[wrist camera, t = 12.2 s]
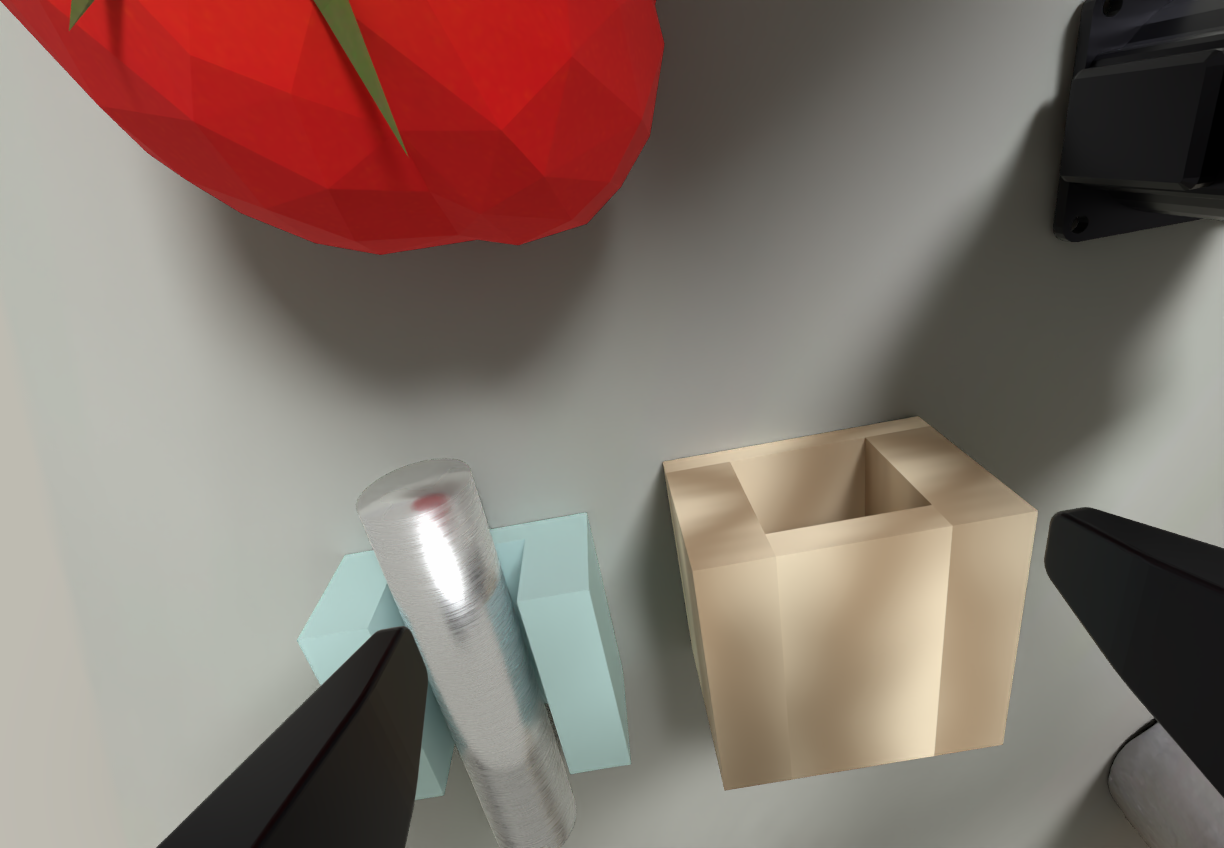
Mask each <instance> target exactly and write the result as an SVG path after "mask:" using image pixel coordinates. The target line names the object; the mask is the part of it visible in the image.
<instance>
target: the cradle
mask: <svg viewBox="0 0 1224 848" xmlns="http://www.w3.org/2000/svg"><path fill="white" fill-rule="evenodd" d="M489 530H490V533H491V536H492V539H493V542H494V546H495V549H496V552H497V555H498V558H499V561H500V565H501V568H502V571H503V574H504V577H505V580H506V584H507V587H508V590H509V593H510V596H511V599H512V603H513V606H514V609H515V612H516V615H517V618H518V622H519V625H520V628H521V631H522V634H523V637H524V641H525V644H526V647H527V650H528V653H529V656H530V660H531V663H532V666H533V669H534V672H535V675H536V679H537V682H538V685H539V688H540V691H541V694H542V697H543V701H544V704H547V703H548V704H549V707H550V711H551V714H552V717H553V720H554V723H555V727H556V730H557V733H558V736H559V740H560V743H561V746H562V749H563V752H564V756H565V759H566V762H567V765H568V768H569V772H570V774H575V773H581V772H587V771H593V770H599V769H605V768H611V767H617V766H623V765H629V764H631V757H630V746H629V734H628V723H627V711H626V700H625V689H624V677H623V669H622V665H621V660H620V656H619V651H618V647H617V643H616V638H615V634H614V630H613V625H612V621H611V616H610V612H609V608H608V603H607V599H606V595H605V590H604V586H603V581H602V577H601V573H600V568H599V564H598V560H597V555H596V551H595V546H594V542H593V538H592V533H591V529H590V524H589V520H588V516H587V512H585V513H579V514H574V515H568V516H563V517H557V518H551V519H546V520H540V521H534V522H529V523H523V524H517V525H512V526H506V527H501V528H495V529H489ZM398 626H405V624H404V621H403V619H402V617H401V614H400V612H399V610H398V607H397V605H396V602H395V600H394V598H393V595H392V593H391V591H390V588H389V586H388V583H387V581H386V579H385V576H384V574H383V572H382V569H381V567H380V565H379V562H378V560H377V557H376V555H375V553H374V550H371V551H365V552H360V553H354V554H348V555H345V556H344V558H343V560H342V561H341V563H340V565H339V567H338V568H337V570H336V572H335V574H334V576H333V577H332V579H331V581H330V583H329V584H328V586H327V588H326V590H325V592H324V593H323V595H322V597H321V599H320V600H319V602H318V604H317V606H316V607H315V609H314V611H313V613H312V615H311V616H310V618H309V620H308V622H307V623H306V625H305V627H304V629H303V630H302V632H301V634H300V636H299V638H298V639H297V642H298V643H299V645H300V647H301V649H302V651H303V653H304V655H305V657H306V659H307V660H308V662H309V664H310V666H311V668H312V670H313V672H314V674H315V676H316V677H317V679H318V681H319V683H320V685H322V684H323V683H324V682H325V681H326V680H327V679H328V678H329V677H330V676H331V675H332V674H333V673H334V672H335V671H336V670H337V669H338V668H339V667H340V666H341V665H342V664H343V663H344V662H345V661H346V660H347V659H348V658H349V657H350V656H351V655H352V654H354V653H355V652H356V651H357V650H358V649H359V648H360V647H361V646H362V645H363V644H364V643H365V642H366V641H367V640H368V639H369V638H370V637H371V636H372V635H373V634H374V633H375V632H377V631H378V630H381V629H387V628H392V627H398ZM405 627H406V626H405ZM454 744H455V742H454V740H453V737H452V735H451V733H450V730H449V728H448V725H447V723H446V721H445V718H444V716H443V714H442V711H441V709H440V707H439V704H438V702H437V699H436V697H435V695H434V692H433V690H432V688H431V685H430V683H429V680H428V690H427V699H426V708H425V718H424V727H423V736H422V746H421V755H420V764H419V774H418V782H417V789H416V796H415V800H419V799H425V798H431V797H437V796H443V795H444V793H445V788H446V783H447V779H448V774H449V769H450V764H451V759H452V754H453V749H454Z"/></svg>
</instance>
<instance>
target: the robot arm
mask: <svg viewBox="0 0 1224 848" xmlns="http://www.w3.org/2000/svg"><path fill="white" fill-rule="evenodd" d="M1104 2H1105V0H1086V1H1085V3H1084V5H1083V9H1082V12H1081V20H1080V28H1079V35H1078V43H1077V50H1076V58H1075V65H1074V73H1073V80H1072V83H1071V89H1070V97H1069V105H1068V112H1067V120H1066V127H1065V135H1064V143H1063V150H1062V158H1061V165H1060V179H1059V186H1058V194H1057V201H1056V209H1055V217H1054V224H1053V231H1054V234H1055V236H1056V237H1057V238H1059V239H1060V240H1064V241H1069V242H1080V241H1085V240H1090V239H1096V238H1101V237H1107V236H1112V235H1117V234H1123V233H1128V232H1134V231H1139V230H1144V229H1150V228H1155V227H1161V226H1166V225H1171V224H1177V223H1182V222H1188V221H1193V220H1199V219H1204V218H1205V219H1213V220H1222V221H1224V0H1110V9H1109V12H1108V13H1107V15H1106V16H1105V14H1104V13H1103V5H1104ZM1077 217H1078V224H1077V226H1076V227H1075V228H1074V229H1073V230H1072V231H1071V225H1072V222H1073V221H1074V220H1075V219H1076V218H1077ZM1044 563H1045V569H1046V572H1047V574H1048V576H1049V578H1050V580H1051V581H1052V582H1053V584H1054V585H1055V587H1056V588H1057V589H1058V591H1059V592H1060V594H1061V595H1062V597H1063V598H1064V599H1065V601H1066V602H1067V604H1068V605H1069V606H1070V608H1071V609H1072V611H1073V612H1074V613H1075V615H1076V616H1077V618H1078V619H1079V621H1080V622H1081V623H1082V625H1083V626H1084V628H1085V629H1086V630H1087V632H1088V633H1089V635H1090V636H1091V637H1092V639H1093V640H1094V642H1095V643H1096V644H1097V646H1098V647H1099V649H1100V650H1101V652H1102V653H1103V654H1104V656H1105V657H1106V659H1107V660H1108V661H1109V663H1110V664H1111V665H1112V667H1113V668H1114V669H1115V671H1116V672H1117V673H1118V675H1119V676H1120V677H1121V679H1122V680H1123V681H1124V682H1125V683H1126V685H1127V686H1128V687H1129V688H1130V690H1131V691H1132V692H1133V693H1134V694H1135V696H1136V697H1137V698H1138V699H1139V700H1140V701H1141V703H1142V704H1143V705H1144V706H1145V707H1146V708H1147V710H1148V711H1149V712H1150V713H1151V714H1152V715H1153V717H1154V718H1155V719H1156V720H1157V721H1158V722H1159V724H1160V725H1161V726H1162V727H1163V728H1164V729H1165V731H1166V732H1167V733H1168V734H1169V735H1170V736H1171V738H1172V739H1173V740H1174V741H1175V742H1176V743H1177V745H1178V746H1179V747H1180V748H1181V749H1182V750H1183V752H1184V753H1185V754H1186V755H1187V756H1188V757H1189V759H1190V760H1191V761H1192V762H1193V763H1194V764H1195V766H1196V767H1197V768H1198V769H1199V770H1200V771H1201V773H1202V774H1203V775H1204V776H1205V777H1206V778H1207V780H1208V781H1209V782H1210V783H1211V784H1212V785H1213V787H1214V788H1215V789H1216V790H1217V791H1218V792H1219V794H1220V795H1221V796H1222V797H1223V798H1224V548H1221V547H1218V546H1214V545H1211V544H1208V543H1204V542H1201V541H1198V540H1195V539H1191V538H1188V537H1185V536H1182V535H1178V534H1175V533H1172V532H1169V531H1165V530H1162V529H1159V528H1156V527H1152V526H1149V525H1146V524H1143V523H1139V522H1136V521H1133V520H1130V519H1126V518H1123V517H1120V516H1117V515H1113V514H1110V513H1107V512H1104V511H1100V510H1097V509H1094V508H1088V507H1082V508H1076V509H1070V510H1065V511H1060V512H1057V513H1056V514H1054V516H1053V517H1052V518H1051V521H1050V526H1049V532H1048V538H1047V545H1046V551H1045V557H1044ZM427 690H428V673H427V668H426V665H425V663H424V660H423V658H422V656H421V653H420V651H419V648H418V646H417V644H416V641H415V639H414V636H413V634H412V632H411V631H410V629H409V628H408V627H405V626H398V627H392V628H387V629H381V630H378V631H377V632H375V633H374V634H373V635H372V636H371V637H370V638H369V639H368V640H367V641H366V642H365V643H364V644H363V645H362V646H361V647H360V648H359V649H358V650H357V651H356V652H355V653H354V654H352V655H351V656H350V657H349V658H348V659H347V660H346V661H345V662H344V663H343V664H342V665H341V666H340V667H339V668H338V669H337V670H336V671H335V672H334V673H333V674H332V675H331V676H330V677H329V678H328V679H327V680H326V681H325V682H324V683H323V684H322V685H321V686H320V687H319V688H318V689H317V690H316V691H315V692H314V693H313V694H312V695H311V696H310V697H309V698H308V699H307V700H306V701H305V702H304V703H303V704H302V705H301V706H300V707H299V708H298V709H297V710H296V711H295V712H294V713H293V714H292V715H291V716H290V717H289V718H288V719H286V720H285V721H284V722H283V723H282V724H281V725H280V726H279V727H278V728H277V729H276V730H275V731H274V732H273V733H272V734H271V735H270V736H269V737H268V738H267V739H266V740H265V741H264V742H263V743H262V744H261V745H260V746H259V747H258V748H257V749H256V750H255V751H254V752H253V753H252V754H251V755H250V756H249V757H248V758H247V759H246V760H245V761H244V762H243V763H242V764H241V765H240V766H239V767H238V768H237V769H236V770H235V771H234V772H233V773H232V774H231V775H230V776H229V777H228V778H227V779H226V780H225V781H224V782H223V783H222V784H220V785H219V786H218V787H217V788H216V789H215V790H214V791H213V792H212V793H211V794H210V795H209V796H208V797H207V798H206V799H205V800H204V801H203V802H202V803H201V804H200V805H199V806H198V807H197V808H196V809H195V810H194V811H193V812H192V813H191V814H190V815H189V816H188V817H187V818H186V819H185V820H184V821H183V822H182V823H181V824H180V825H179V826H178V827H177V828H176V829H175V830H174V831H173V832H172V833H171V834H170V835H169V836H168V837H167V838H166V839H165V840H164V841H163V842H162V843H161V844H159V845H158V846H157V847H156V848H405V845H406V841H407V836H408V831H409V827H410V822H411V817H412V812H413V807H414V802H415V796H416V789H417V782H418V774H419V764H420V755H421V746H422V736H423V727H424V718H425V708H426V699H427Z"/></svg>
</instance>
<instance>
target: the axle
mask: <svg viewBox="0 0 1224 848" xmlns="http://www.w3.org/2000/svg"><path fill="white" fill-rule="evenodd" d="M356 510H357V513H358V515H359V517H360V520H361V522H362V524H363V527H364V529H365V531H366V534H367V536H368V539H369V541H370V543H371V546H372V548H373V550H374V553H375V555H376V557H377V560H378V562H379V565H380V567H381V569H382V572H383V574H384V576H385V579H386V581H387V583H388V586H389V588H390V591H391V593H392V595H393V598H394V600H395V602H396V605H397V607H398V610H399V612H400V614H401V617H402V619H403V621H404V624H405V626H406V627H408V628H409V629H410V631H411V632H412V634H413V636H414V639H415V641H416V644H417V646H418V648H419V651H420V653H421V656H422V658H423V660H424V663H425V665H426V668H427V673H428V680H429V683H430V685H431V688H432V690H433V692H434V695H435V697H436V699H437V702H438V704H439V707H440V709H441V711H442V714H443V716H444V718H445V721H446V723H447V725H448V728H449V730H450V733H451V735H452V737H453V740H454V742H455V744H456V747H457V749H458V751H459V754H460V756H461V759H462V761H463V763H464V766H465V768H466V770H467V773H468V775H469V777H470V780H471V782H472V785H473V787H474V789H475V792H476V794H477V796H478V799H479V801H480V803H481V806H482V808H483V811H484V813H485V815H486V818H487V820H488V822H489V825H490V827H491V830H492V832H493V834H494V837H495V839H496V841H497V844H498V846H499V848H560V847H561V846H562V845H563V844H564V843H565V841H566V840H567V839H568V837H569V835H570V833H571V831H572V829H573V826H574V823H575V819H576V803H575V799H574V796H573V792H572V789H571V786H570V783H569V780H568V777H567V773H566V770H565V767H564V764H563V761H562V758H561V754H560V751H559V748H558V745H557V742H556V739H555V735H554V732H553V729H552V726H551V723H550V720H549V716H548V713H547V710H546V707H545V704H544V701H543V697H542V694H541V691H540V688H539V685H538V682H537V679H536V675H535V672H534V669H533V666H532V663H531V660H530V656H529V653H528V650H527V647H526V644H525V641H524V637H523V634H522V631H521V628H520V625H519V622H518V618H517V615H516V612H515V609H514V606H513V603H512V599H511V596H510V593H509V590H508V587H507V584H506V580H505V577H504V574H503V571H502V568H501V565H500V561H499V558H498V555H497V552H496V549H495V546H494V542H493V539H492V536H491V533H490V530H489V527H488V524H487V520H486V517H485V514H484V511H483V508H482V505H481V501H480V498H479V495H478V492H477V489H476V486H475V482H474V479H473V476H472V473H471V470H470V467H469V466H468V465H467V464H466V463H464V462H462V461H460V460H456V459H447V458H442V459H431V460H425V461H421V462H417V463H413V464H410V465H407V466H404V467H402V468H399V469H397V470H394V471H392V472H390V473H388V474H386V475H385V476H383V477H381V478H379V479H378V480H376V481H375V482H374V483H372V484H371V485H370V486H369V487H367V488H366V489H365V490H364V491H363V492H362V494H361V495H360V496H359V498H358V500H357V503H356Z"/></svg>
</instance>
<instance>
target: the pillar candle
mask: <svg viewBox="0 0 1224 848" xmlns="http://www.w3.org/2000/svg"><path fill="white" fill-rule="evenodd" d="M1108 785H1109V789H1110V793H1111V795H1112V797H1113V799H1114V800H1115V801H1116V803H1117V804H1118V806H1119V807H1120V809H1121V810H1122V811H1123V813H1124V815H1125V817H1126V818H1127V820H1128V821H1129V822H1130V823H1131V825H1132V826H1133V827H1134V828H1135V829H1136V830H1137V832H1138V833H1139V834H1140V836H1141V837H1142V838H1143V839H1144V841H1145V842H1146V843H1147V845H1148V846H1149V847H1150V848H1224V798H1223V797H1222V796H1221V795H1220V794H1219V792H1218V791H1217V790H1216V789H1215V788H1214V787H1213V785H1212V784H1211V783H1210V782H1209V781H1208V780H1207V778H1206V777H1205V776H1204V775H1203V774H1202V773H1201V771H1200V770H1199V769H1198V768H1197V767H1196V766H1195V764H1194V763H1193V762H1192V761H1191V760H1190V759H1189V757H1188V756H1187V755H1186V754H1185V753H1184V752H1183V750H1182V749H1181V748H1180V747H1179V746H1178V745H1177V743H1176V742H1175V741H1174V740H1173V739H1172V738H1171V736H1170V735H1169V734H1168V733H1167V732H1166V731H1165V729H1164V728H1163V727H1162V726H1161V725H1160V724H1159V722H1157V723H1156V724H1155V725H1154V726H1152V727H1151V728H1149V729H1148V730H1146V731H1145V732H1143V733H1142V734H1140V735H1139V736H1137V737H1136V738H1134V739H1133V740H1131V741H1130V742H1129V743H1127V744H1126V745H1125V746H1124V748H1122V750H1121V751H1120V752H1119V753H1118V755H1117V757H1116V758H1115V759H1114V762H1113V765H1112V766H1111V770H1110V775H1109V779H1108Z"/></svg>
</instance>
